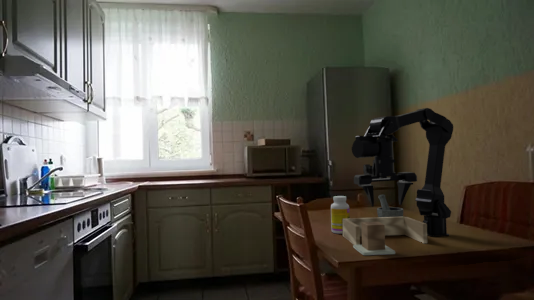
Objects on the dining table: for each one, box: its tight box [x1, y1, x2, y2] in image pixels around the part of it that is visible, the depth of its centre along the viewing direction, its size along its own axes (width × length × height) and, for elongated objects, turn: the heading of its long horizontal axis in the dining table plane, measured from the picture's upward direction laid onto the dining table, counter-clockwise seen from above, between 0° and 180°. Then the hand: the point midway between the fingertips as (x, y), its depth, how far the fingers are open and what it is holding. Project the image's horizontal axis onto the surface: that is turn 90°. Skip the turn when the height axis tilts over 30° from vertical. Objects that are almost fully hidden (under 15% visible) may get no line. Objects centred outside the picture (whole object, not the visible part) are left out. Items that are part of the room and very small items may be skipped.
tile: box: [352, 244, 396, 256], centre depth 107 cm, size 9×9×1 cm
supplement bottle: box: [330, 195, 351, 235], centre depth 133 cm, size 7×7×13 cm
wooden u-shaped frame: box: [342, 215, 428, 245], centre depth 120 cm, size 22×14×6 cm, turn 94°
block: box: [361, 222, 386, 250], centre depth 107 cm, size 5×5×7 cm
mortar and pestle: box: [376, 194, 404, 217], centre depth 142 cm, size 11×9×12 cm
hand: (386, 205), depth 117 cm, fingers open, 9 cm apart
